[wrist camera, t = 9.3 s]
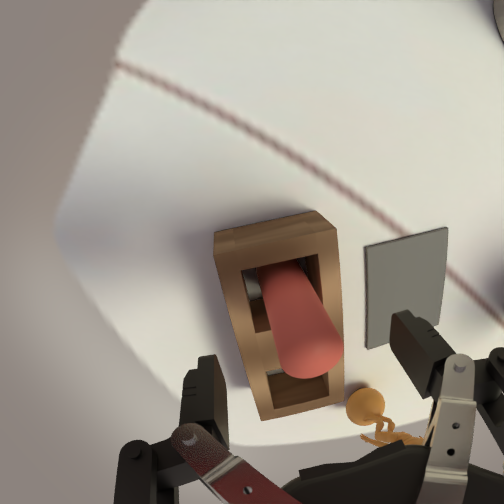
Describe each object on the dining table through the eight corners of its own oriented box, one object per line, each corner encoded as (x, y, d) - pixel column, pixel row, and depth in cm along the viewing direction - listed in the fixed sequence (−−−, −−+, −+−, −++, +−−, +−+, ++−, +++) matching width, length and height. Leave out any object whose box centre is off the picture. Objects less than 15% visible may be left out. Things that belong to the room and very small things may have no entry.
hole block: (214, 232, 21) (213, 255, 17) (316, 210, 21) (336, 228, 17) (255, 387, 26) (261, 421, 23) (330, 370, 27) (344, 400, 23)
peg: (252, 253, 22) (274, 338, 13) (294, 244, 22) (342, 321, 13) (260, 290, 23) (284, 384, 14) (300, 281, 23) (344, 368, 14)
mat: (365, 247, 22) (367, 248, 22) (446, 227, 22) (448, 228, 22) (366, 348, 26) (367, 349, 26) (436, 323, 26) (438, 324, 26)
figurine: (317, 400, 28) (351, 501, 17) (352, 357, 26) (406, 461, 15) (374, 409, 30) (413, 492, 19) (407, 372, 28) (460, 455, 17)
